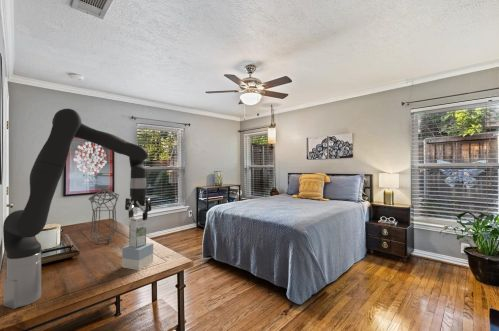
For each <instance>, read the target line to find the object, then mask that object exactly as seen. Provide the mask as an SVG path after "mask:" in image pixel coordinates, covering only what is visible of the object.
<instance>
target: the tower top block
mask: <svg viewBox="0 0 499 331" xmlns="http://www.w3.org/2000/svg"><path fill="white" fill-rule="evenodd" d="M121 252H122V254H121V256H122V258H126V259H132V260H141V259H143V258H145V257H147V256H149V255H150V254H152V253H153V254H154V243H152V242H151V243H150V242H146V245H143V246H140V247H137V248H135V247H131V246H129V244H128V245H126V246H123V247H122V249H121ZM122 258H121V259H122Z"/></svg>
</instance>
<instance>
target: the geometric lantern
mask: <svg viewBox="0 0 499 331" xmlns="http://www.w3.org/2000/svg"><path fill="white" fill-rule="evenodd" d="M107 194H108V195H107ZM96 197H98V198H96ZM106 197H109V198H106ZM119 197H120V194H118V193H116V192H114V191H112V190H110V189H108V188H105V187H104V188H101V189H100V190H98V191H97V192H96V193H94V194H93V195H91V196H90V197H89V198H88V201H90V204H91V210H92V217H91V229H90V236H89V238H90V239H91V240H92V241H94V242H95V244H96V245H101V244H102V245H104V244H106V242H105V241H108V244H110V243H112V239H113V238H114V237H116V235H117V233H118V229H117V228H118V226H117V211H116V207H117V206H116V205H117V202H118V199H119ZM100 200H102V202H101V203H100V202H99V201H100ZM113 200H115V202H114V204H113V202H112V201H113ZM105 201H106V202H105ZM109 202H111V204H112V209H109V208H110V207H109V206H107V203H109ZM93 203H95V205H96V207H95V208H94V205H93ZM102 205H104V206H102ZM104 207H105V208H107V209H103V208H104ZM101 208H102V210H101ZM98 209H99V210H98ZM101 212H108V213H109V214H108V216H109V218H108V219H109V221H108V222H109V230H108V231H107V233H109V235H105V236H104V237H102V236H100V235H99V234H102V233H106V231H100V220H101ZM111 214H112V217H111ZM97 216H98V218H97ZM97 219H98V228H97V227H96V226H97ZM111 219H112V230H111ZM96 228H97V230H98V231H97V232H96ZM96 234H97V235H96ZM98 242H102V243H98Z"/></svg>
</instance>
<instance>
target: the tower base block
mask: <svg viewBox="0 0 499 331" xmlns="http://www.w3.org/2000/svg"><path fill="white" fill-rule="evenodd" d="M152 263H154V252H153V253H152V254H150V255H149V256H147V257H145V258H143V259H141V260H132V259H126V258H121V264H122V265H121V266H122V268H124V269H131V270H135V271H140V270H142V269H144V268H145V267H147V266H148V265H150V264H152Z"/></svg>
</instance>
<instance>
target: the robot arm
mask: <svg viewBox="0 0 499 331" xmlns="http://www.w3.org/2000/svg"><path fill="white" fill-rule="evenodd" d="M74 137H75V138H78V139H81V140H84V141H87V142H89V143H93V144H95V145H98V146H100V147H103V148H105V149H107V150H109V151H111V152H114V153H117V154H119V155H124V156H126V157H128V159H129V160H128V161H129V167H130V180H129V197H126V198H125V201H124V202H125V204H124V205H125V206H124V210H125V211H127V212H128V219H129V220H130V217H135V216H134V214H135V212H134V210H135V208H139V209H140V210H141V211H142V216H143V220H146V221H147V219H148V217H149V216H148V212H151V211H152V200H151V198H148V199H147V198H146V196H147V170H146V167H145V163H144V161H145V160H147V158H148V156H149V154H148V151H147V149H146V148H144V147H142V146H141V145H138V144H134V143H132V142H129V141H127V140H125V139H123V138H121V137H119V136H117V135H114V134H111V133H109V132H105V131H101V130H97V129H95V128H92V127H90V126H88V125H86V124H84V123H82V118H81V115H80V114H79V113H78V111H76V110H74V109H72V108H61V109H60V110H59V109H58V111H57V112H56V113H55V114H54V116H53V118H52V127H51V130H50V133H49V135H48V138H47V140H46V142H45V143H44V144H43V146H42V148H41V149H40V151H39V153H38V155H37V157H36V158H35V161H34V163H33V165H32V167H31V170H30V174H29V197H28V200H27V202H26V205H25V207H24V208H23V209H17V210H14V211H12V212H10V213H9V214H8V215H7V216H6V217H5V220H4V221H3V226H2V236H3V238H2V239H3V248H4V251H5V252H6V278H4V279H3V307H5V308H6V307H7V308H10V309H12V310H15V309H17V308H18V309H19V308H20V307H25V306H27V305H28V306H29V305H31V304H33V303H35V302H37V301H38V300H40V299H41V297H42V245H41V243H40V242H39V241H38V239H37V238H36V236H37V235H39V234H40V233H41V232H42V231H43V230H44V228H45V226H46V223H47V221H48V217H49V213H50V210H51V204H52V201H53V199H54V198H53V197H54V196H55V192H56V190H57V187H58V184H59V182H60V180H61V177H62V175H63V172H64V170H65V166H66V163H67V160H68V156H69V151H70V148H71V144H72V142H73V140H74Z"/></svg>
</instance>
